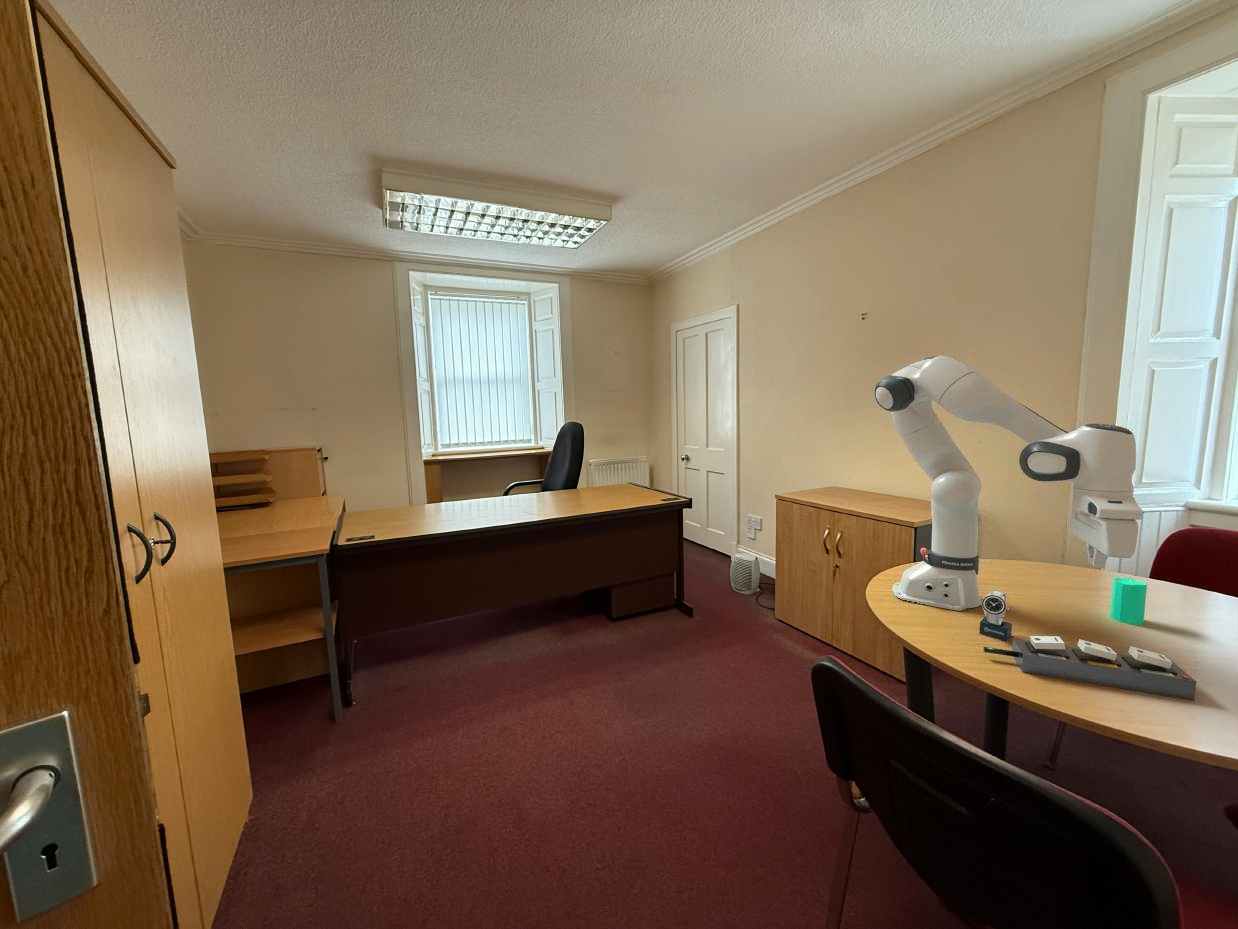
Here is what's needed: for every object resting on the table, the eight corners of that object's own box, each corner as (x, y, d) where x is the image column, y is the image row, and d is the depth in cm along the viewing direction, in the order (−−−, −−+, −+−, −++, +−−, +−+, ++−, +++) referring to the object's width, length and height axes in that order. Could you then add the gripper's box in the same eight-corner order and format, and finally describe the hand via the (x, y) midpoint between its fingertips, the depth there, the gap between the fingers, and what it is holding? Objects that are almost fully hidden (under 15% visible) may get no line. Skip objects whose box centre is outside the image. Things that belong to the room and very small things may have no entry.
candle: (1150, 625, 121) (1154, 580, 120) (1122, 624, 122) (1126, 579, 121) (1130, 615, 127) (1134, 571, 125) (1104, 614, 128) (1107, 571, 127)
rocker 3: (1136, 659, 96) (1138, 653, 96) (1128, 652, 99) (1130, 645, 99) (1169, 668, 94) (1172, 662, 94) (1160, 660, 97) (1163, 654, 97)
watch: (977, 636, 119) (979, 594, 118) (986, 626, 124) (988, 585, 123) (1005, 644, 115) (1007, 600, 114) (1013, 633, 120) (1016, 591, 119)
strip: (987, 666, 106) (988, 648, 105) (979, 649, 113) (980, 632, 112) (1194, 700, 91) (1196, 679, 91) (1170, 679, 98) (1172, 659, 98)
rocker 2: (1083, 652, 100) (1085, 645, 100) (1077, 645, 103) (1079, 638, 102) (1115, 660, 98) (1117, 654, 98) (1107, 653, 101) (1110, 647, 100)
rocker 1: (1035, 648, 104) (1034, 642, 103) (1030, 642, 106) (1029, 635, 106) (1065, 649, 101) (1064, 642, 101) (1059, 642, 104) (1058, 636, 104)
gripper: (1062, 492, 110) (1058, 550, 111) (1102, 511, 92) (1097, 580, 93) (1099, 493, 107) (1094, 553, 109) (1148, 513, 89) (1141, 584, 90)
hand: (1096, 566), depth 101 cm, fingers closed
